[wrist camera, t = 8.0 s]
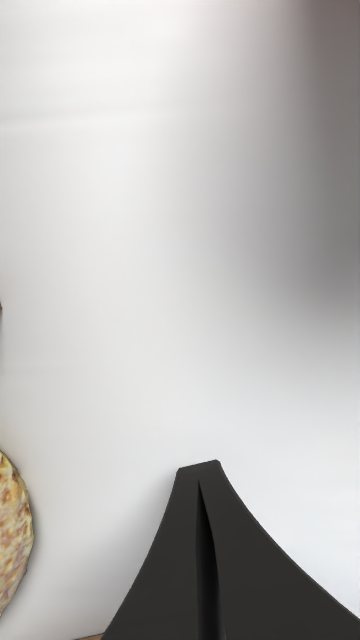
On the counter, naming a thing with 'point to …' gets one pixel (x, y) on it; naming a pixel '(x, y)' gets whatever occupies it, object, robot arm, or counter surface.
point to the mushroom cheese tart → (13, 530)
